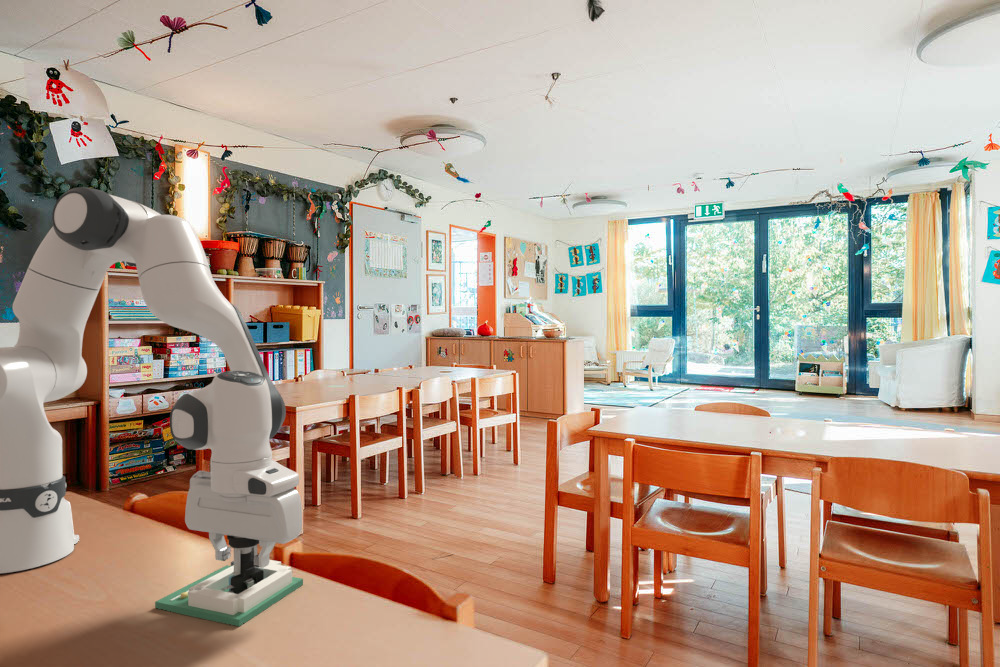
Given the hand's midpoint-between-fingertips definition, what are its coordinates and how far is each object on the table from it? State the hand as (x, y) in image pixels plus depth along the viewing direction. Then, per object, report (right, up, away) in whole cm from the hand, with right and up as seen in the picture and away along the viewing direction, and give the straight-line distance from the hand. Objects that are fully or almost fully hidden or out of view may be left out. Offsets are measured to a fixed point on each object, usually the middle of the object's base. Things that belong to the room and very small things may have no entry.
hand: (242, 562), depth 90 cm
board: (-2, -6, +1) cm, 6 cm away
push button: (0, -5, 0) cm, 5 cm away
